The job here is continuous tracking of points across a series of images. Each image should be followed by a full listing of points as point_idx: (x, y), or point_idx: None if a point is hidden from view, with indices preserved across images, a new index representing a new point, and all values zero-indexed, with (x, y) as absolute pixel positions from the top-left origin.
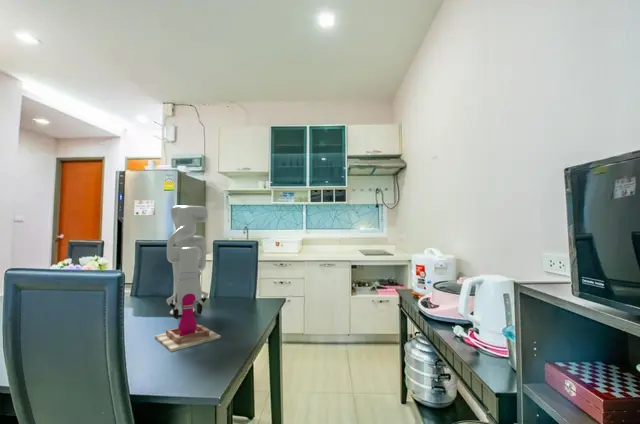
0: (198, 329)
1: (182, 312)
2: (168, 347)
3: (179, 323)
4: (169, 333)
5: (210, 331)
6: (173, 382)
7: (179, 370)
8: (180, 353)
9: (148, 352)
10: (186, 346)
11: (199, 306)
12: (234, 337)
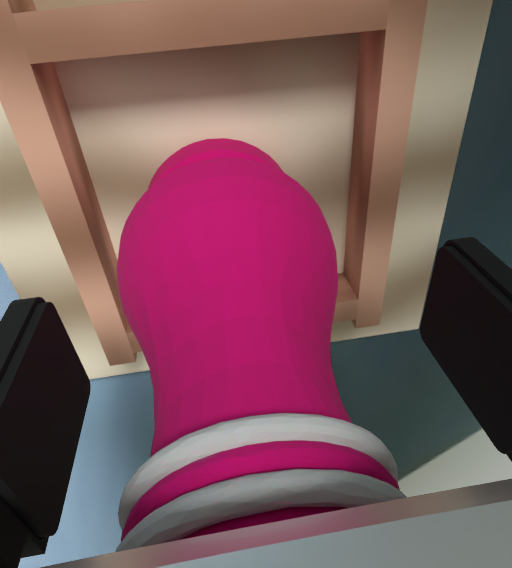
0: (362, 143)
1: (154, 414)
2: None
3: (123, 308)
4: (26, 151)
5: (432, 201)
6: None
7: (105, 523)
8: (125, 408)
9: None
10: None
11: (496, 430)
12: None
